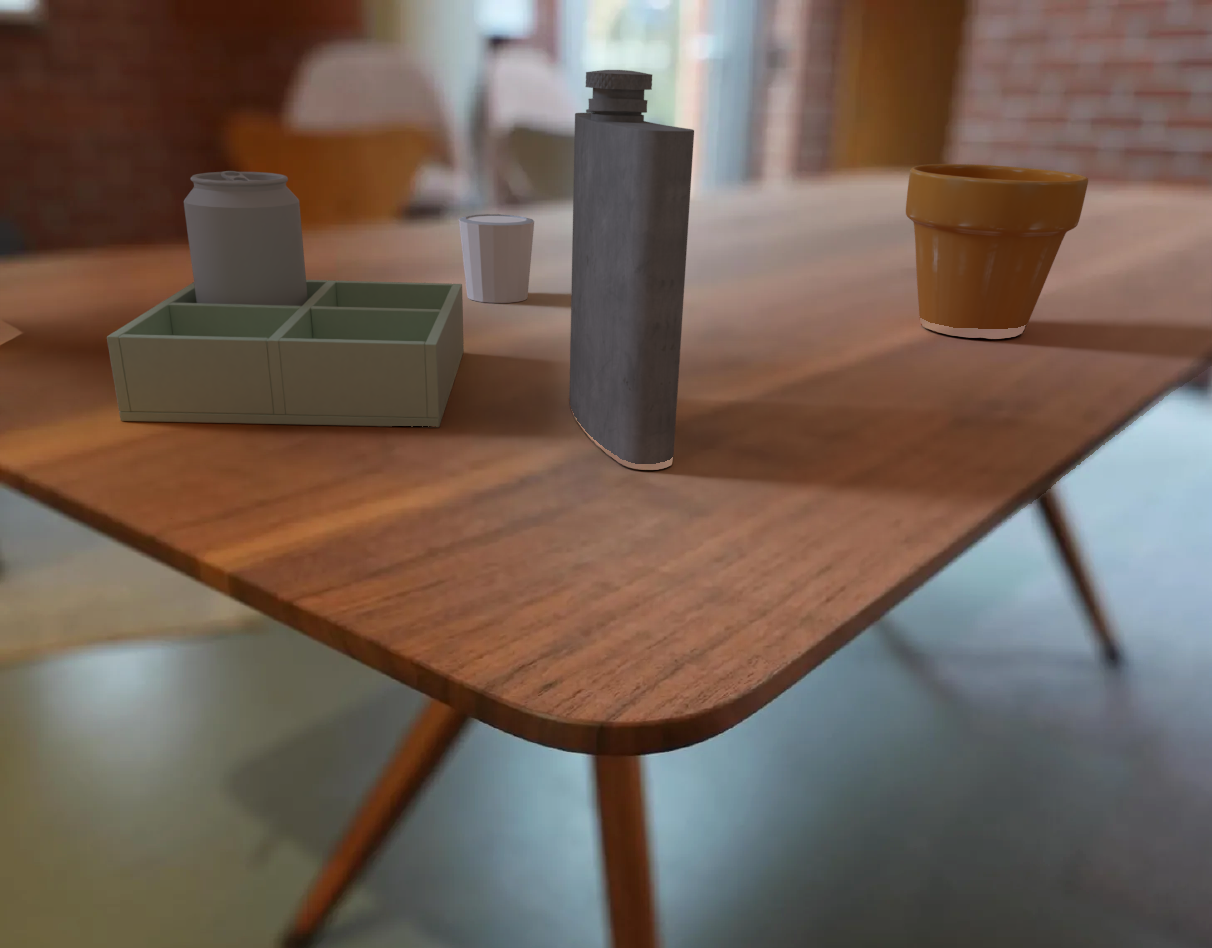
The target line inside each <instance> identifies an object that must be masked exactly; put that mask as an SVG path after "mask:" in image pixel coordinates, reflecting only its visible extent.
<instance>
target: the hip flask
mask: <svg viewBox="0 0 1212 948" xmlns="http://www.w3.org/2000/svg"><path fill="white" fill-rule="evenodd" d="M652 87H653V74H652V73H646V72H641V71H636V70H627V69H600V70H591V71H586V72H585V88H589V89H590V88H591V89H592V98H588V99H587V100H588V109H585V112H576V113H574V146H573V147H574V148H573V192H572V193H573V194H572V195H573V197H572V240H571V241H572V242H571V243H572V244H571V245H572V246H571V249H572V250H571V251H572V252H571V293H570V294H571V295H570V296H571V297H570V298H571V299H570V343H569V345H570V348H569V349H570V350H569V393H568V394H569V395H568V397H569V398H568V399H570V401H569V407H570V406H571V408H570V410H571V409H572V411H573V413H574V416H575V417H576V418H577V421H578V422H579V423H580V424H581V426H582V427H583V428H584V429H585V431H586V432H587V433H588V434H589V435H590V436H591V437H593V439H594V440H596V441H597V442H598V443H599V444H600V445H602V446H603V447H604V448H605V449H607V450H609V451H611V453H613V454H614V455H617V456H618V457H619V458H620V459H622V460H626V461H628V462H631V463H635V464H656V463H660V462H665V461H667V460H670V459H671V458H672V457H673V458H674V456H675V455H674V454H675V438H676V437H675V436H676V424H677V423H676V422H677V408H678V407H677V406H678V393H679V375H680V362H681V361H680V360H681V347H682V346H681V343H682V332H683V331H682V329H683V314H684V298H685V281H686V265H687V252H688V251H687V249H688V235H689V218H690V203H691V188H692V175H693V174H692V172H693V157H694V142H695V130H694V129H692V128H685V127H678V126H673V125H668V124H667V125H666V124H660V123H655V122H651V121H645V115H644V114H645V113H648V101H649V100H648V99H645V91H650V90H652V89H653V88H652ZM572 411H571V412H572ZM574 416H573V417H574ZM673 455H674V456H673Z"/></svg>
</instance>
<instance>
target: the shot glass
mask: <svg viewBox="0 0 1212 948" xmlns="http://www.w3.org/2000/svg"><path fill="white" fill-rule="evenodd" d="M458 225H459V234H460V241H461V242H460V243H461V252H462V261H463V270H464V271H463V272H464V281H465V288H466V296H467V299H469V300H472V301H475V302H480V303H490V304H509V303H518V302H522V301H526V299H528V295H529V287H530V276H531V275H530V273H531V264H532V253H533V242H534V231H535V220H534V219H532V218H529V217H525V216H520V215H513V214H499V213H497V214H495V213H494V214H493V213H491V214H489V213H486V214H473V215H466V216H462V217H459V218H458Z"/></svg>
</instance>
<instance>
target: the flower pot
mask: <svg viewBox="0 0 1212 948" xmlns="http://www.w3.org/2000/svg"><path fill="white" fill-rule="evenodd" d="M1088 185H1089V178H1088V177H1087V176H1084V175H1081V174H1077V173H1072V172H1067V171H1058V170H1052V169H1051V170H1049V169H1041V168H1029V167H1019V166H1007V165H994V164H993V165H992V164H969V163H968V164H966V163H964V164H963V163H961V164H960V163H936V164H935V163H934V164H932V163H931V164H921V165H916V166H913V167H911V168H910V170H909V176H908V184H907V192H906V193H907V194H906V202H905V215H906V217H907V218H908V219H909V220H911V221H912V222H913V231H914V242H915V243H914V246H915V248H914V249H915V267H916V268H915V269H916V285H917V302H918V303H917V304H918V316H920V317H919V319H920V318H922V319H924V320H926V321H928V322H930V323H935V324H939V325H944V326H949V327H953V328H978V329H1008V328H1018V327H1021V326H1024V325H1026V324H1027V323H1029V322H1030V319H1031V317H1032V315H1033V312H1034V310H1035V309H1036V308H1035V307H1036V305H1037V302H1038V300H1039V298H1040V295H1041V293H1042V292H1043V288H1044V286H1045V283H1046V281H1047V279H1048V277H1049V274H1050V272H1051V270H1052V267H1053V264H1054V262H1055V259H1056V257H1057V254H1058V252H1059V250H1060V247H1061V245H1062V243H1063V241H1064V238H1065V236H1066V234H1067V233H1068V232H1070V231H1072V230H1073V229H1075V228H1076V227H1077V226H1078V225H1079V223H1080V218H1081V216H1082V211H1083V207H1084V202H1085V198H1086V194H1087V189H1088ZM1027 325H1028V324H1027Z"/></svg>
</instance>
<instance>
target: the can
mask: <svg viewBox="0 0 1212 948" xmlns="http://www.w3.org/2000/svg"><path fill="white" fill-rule="evenodd" d="M190 181H191V182H192V183H193V187H192V189H191V190H190V192H189V193H188V194H187V196H186V197H185V198H184V200H183V209H184V215H185V223H186V231H187V240H188V247H189V253H190V262H191V270H192V277H193V282H194V286H195V293H196V301H197V303H209V304H249V305H288V306H302V305H303V304H304V303H305V302H306V301H307V300H308V296H307V285H306V280H307V274H306V263H305V251H304V250H305V249H304V239H303V228H302V217H301V205H300V199H299V198H298V197H297V196H296V195H295V194H294V192H292V190H291V189H290V188H289V187H288V186H287V182H288V181H289V178H288V176H287V175H285V174H281V173H275V172H262V171H261V172H260V171H235V170H226V171H216V172H214V171H213V172H203V173H197V174H193V175H192V176H190Z"/></svg>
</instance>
